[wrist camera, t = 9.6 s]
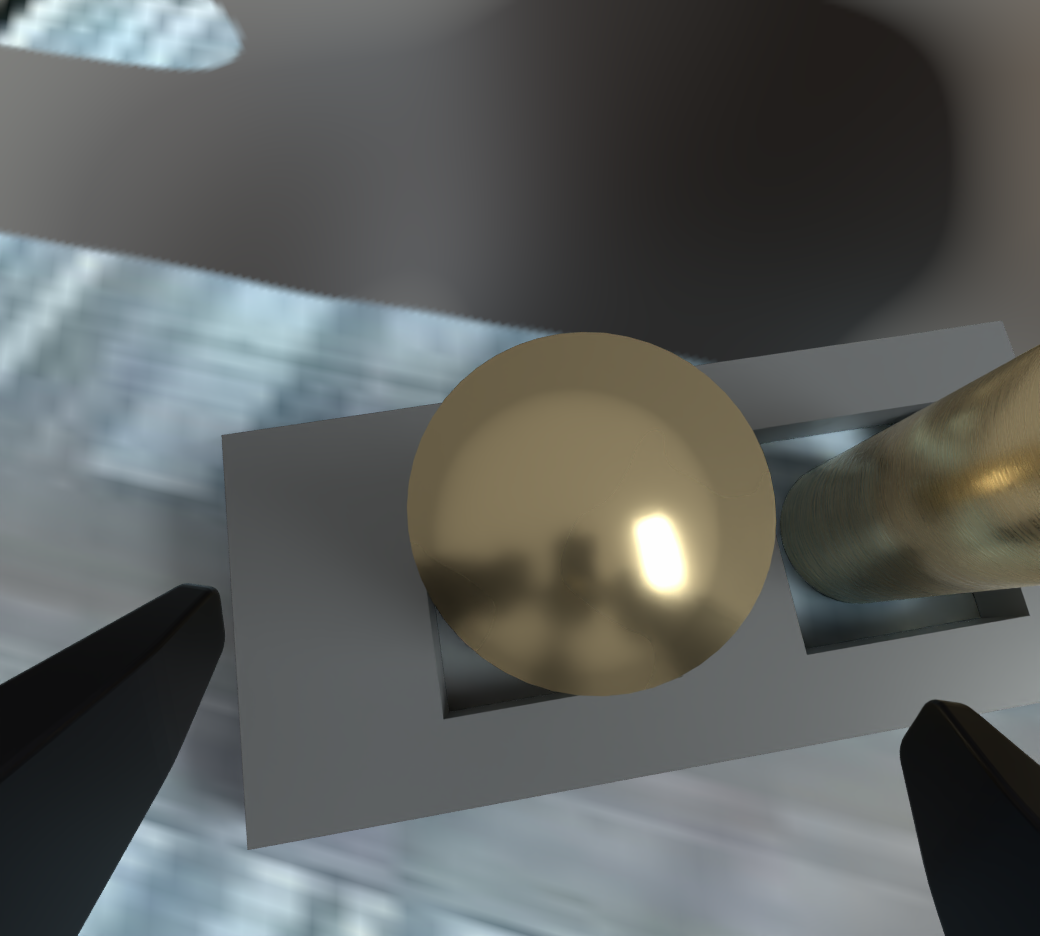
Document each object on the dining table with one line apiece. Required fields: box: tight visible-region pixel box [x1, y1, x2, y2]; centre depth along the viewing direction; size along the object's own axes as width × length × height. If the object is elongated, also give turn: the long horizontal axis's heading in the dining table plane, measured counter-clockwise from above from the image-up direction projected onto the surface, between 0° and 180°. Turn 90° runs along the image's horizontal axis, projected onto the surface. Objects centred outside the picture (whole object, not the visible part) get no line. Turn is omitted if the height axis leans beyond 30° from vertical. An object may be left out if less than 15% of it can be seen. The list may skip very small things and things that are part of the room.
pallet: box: [222, 321, 1040, 850], centre depth 20 cm, size 24×11×2 cm, turn 99°
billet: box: [780, 345, 1040, 604], centre depth 15 cm, size 4×4×13 cm
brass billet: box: [407, 332, 776, 696], centre depth 15 cm, size 4×4×13 cm
